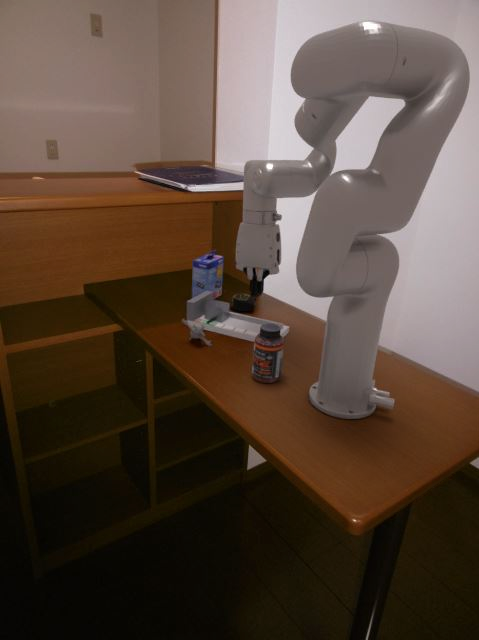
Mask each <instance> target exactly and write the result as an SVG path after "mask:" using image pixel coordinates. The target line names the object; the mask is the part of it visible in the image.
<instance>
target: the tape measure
mask: <svg viewBox="0 0 479 640" xmlns="http://www.w3.org/2000/svg"><path fill="white" fill-rule="evenodd" d="M257 298H258V297H255V296H253V297H252V296H251V294H247V293H235V294H233V295H232V297H231V300H230V301H231V303H230V305H231V307H232V309H234V310H235V311H240V312H252V311H254V310H255V304H256V302H257Z"/></svg>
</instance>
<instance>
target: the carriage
mask: <svg viewBox="0 0 479 640" xmlns="http://www.w3.org/2000/svg"><path fill="white" fill-rule="evenodd" d="M230 305H231V303H230V302H226V301H222V300H217V299H212V300H211V301H209V302H207V303H206V304H205V319H208V320H209V321H207V323H210V322H212V321H217V322H221V323H222V322H223V321H225V320H226V319H228V318H229V312H230Z"/></svg>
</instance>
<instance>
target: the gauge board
mask: <svg viewBox="0 0 479 640" xmlns="http://www.w3.org/2000/svg"><path fill="white" fill-rule="evenodd" d="M212 299H213V292H212V291H205V292H203V293H201V294H199V295H198V296H196V297H194V298H192V297H191V299H188V300H186V320H187V319H188V321H187V322H188V323H189V325H191V326H192V327H193V325H195V326H197V327H199V326H200V325H201V324H202V323H203V324H202V325H204V327H205V326H206V327H205V328H204V329H203V331H204V330H205V331H208V332H211V333H212V332H213V333H217V334H220V335H224V336H228V337H232V338H236V339H241V340H246V341H249V342H252V343H253V342H254V341H255V337H256V336H257V335H258V334H259V333H260V327H261V325H262V324H265V323H273V324H277V325H279V326H280V328H281V330H280V335H281V336H282V337H283V338H284V337H285V336H287V334H289V332H290V326H288V325H285V324H284V323H281V322H278V321H277V322H276V321H273V320H269V319H264V318H259V317H256V316H250V315H246V314H241V313H238V312H232V311H229V318H228V319H226V320H225V321H223V322H222V323H221V322H217V321H212V322H210V323H207V321H209V320H208V319H205V304H206V303H207V302H209V301H211V300H212ZM213 300H214V299H213ZM200 327H201V326H200Z"/></svg>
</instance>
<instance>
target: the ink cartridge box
mask: <svg viewBox="0 0 479 640" xmlns="http://www.w3.org/2000/svg"><path fill="white" fill-rule="evenodd" d="M216 251H217V249H214V250H212V251H210V252H209V253H207V254H204V255H203V256H199V257H197V258H196V259H195V258H194V259H193V260H192V274H191V275H192V278H191V279H192V283H191V284H192V285H191V299H192V298H194V297H196V296H198V295H199V294H201V293H203V292H205V291H212V292H213V300H216V298H219V297H220V296H221V295H222V293H223V289H222V288H223V277H224V276H223V273H224V261H225V260H224V259H225V257H224V256H222V255H220V254H219V255H218V254H215V253H216Z"/></svg>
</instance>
